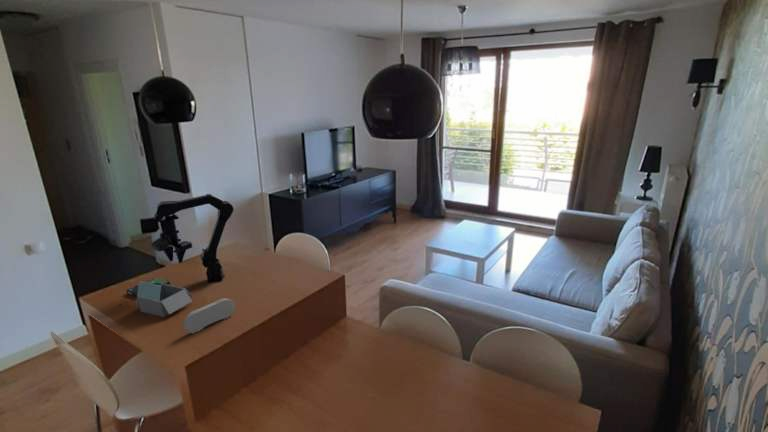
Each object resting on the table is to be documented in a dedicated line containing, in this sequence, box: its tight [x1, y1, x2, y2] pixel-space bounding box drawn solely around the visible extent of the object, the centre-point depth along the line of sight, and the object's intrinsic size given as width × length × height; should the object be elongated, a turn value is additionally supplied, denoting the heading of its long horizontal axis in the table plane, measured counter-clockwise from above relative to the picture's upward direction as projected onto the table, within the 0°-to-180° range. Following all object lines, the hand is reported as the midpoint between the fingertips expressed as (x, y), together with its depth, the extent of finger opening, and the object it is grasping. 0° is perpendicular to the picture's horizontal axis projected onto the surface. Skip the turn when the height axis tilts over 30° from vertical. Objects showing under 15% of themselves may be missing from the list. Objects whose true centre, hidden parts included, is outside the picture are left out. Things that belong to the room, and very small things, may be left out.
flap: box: [137, 280, 161, 301], centre depth 157 cm, size 6×13×1 cm
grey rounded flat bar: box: [183, 297, 235, 334], centre depth 149 cm, size 20×2×8 cm, turn 140°
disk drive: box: [125, 277, 171, 299], centre depth 181 cm, size 10×3×15 cm
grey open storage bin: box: [135, 284, 194, 319], centre depth 165 cm, size 15×20×7 cm
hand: (176, 261), depth 178 cm, fingers open, 6 cm apart
